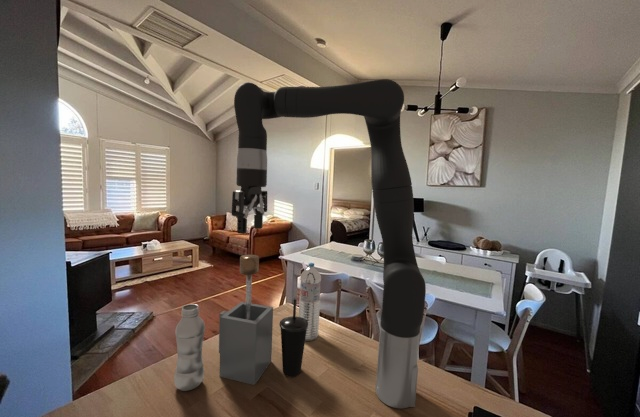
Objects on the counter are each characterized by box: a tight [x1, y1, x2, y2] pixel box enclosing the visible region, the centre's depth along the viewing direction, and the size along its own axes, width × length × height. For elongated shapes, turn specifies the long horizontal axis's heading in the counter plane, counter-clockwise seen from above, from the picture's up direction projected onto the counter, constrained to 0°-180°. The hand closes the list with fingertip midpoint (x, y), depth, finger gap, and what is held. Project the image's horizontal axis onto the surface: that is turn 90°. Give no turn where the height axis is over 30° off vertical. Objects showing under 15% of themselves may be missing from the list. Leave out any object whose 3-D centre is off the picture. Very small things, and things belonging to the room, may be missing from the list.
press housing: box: [218, 301, 274, 386], centre depth 76 cm, size 13×10×16 cm
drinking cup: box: [279, 299, 308, 378], centre depth 75 cm, size 8×8×20 cm
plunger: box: [239, 254, 260, 320], centre depth 74 cm, size 7×7×20 cm
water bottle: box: [298, 262, 322, 342], centre depth 93 cm, size 7×7×25 cm
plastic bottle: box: [173, 303, 206, 392], centre depth 68 cm, size 6×7×20 cm
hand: (250, 230), depth 73 cm, fingers open, 8 cm apart
